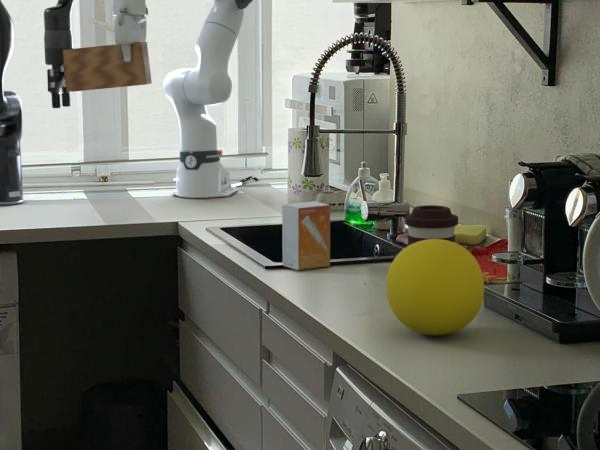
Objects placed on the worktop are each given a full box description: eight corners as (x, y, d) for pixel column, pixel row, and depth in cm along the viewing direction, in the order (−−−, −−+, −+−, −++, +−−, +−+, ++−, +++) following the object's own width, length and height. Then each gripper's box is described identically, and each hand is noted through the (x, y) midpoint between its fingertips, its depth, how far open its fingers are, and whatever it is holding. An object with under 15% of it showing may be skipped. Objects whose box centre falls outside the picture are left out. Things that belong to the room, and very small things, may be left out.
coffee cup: (400, 280, 202) (400, 204, 200) (450, 279, 203) (451, 203, 201) (409, 292, 193) (410, 212, 190) (462, 291, 193) (463, 211, 191)
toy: (452, 317, 175) (453, 228, 172) (500, 340, 161) (502, 244, 158) (370, 326, 170) (371, 235, 167) (413, 350, 156) (414, 252, 153)
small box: (298, 271, 212) (298, 207, 210) (281, 266, 217) (281, 204, 215) (331, 266, 217) (330, 204, 214) (314, 261, 222) (313, 200, 220)
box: (66, 92, 281) (61, 49, 279) (73, 91, 287) (68, 49, 285) (146, 84, 278) (141, 41, 277) (151, 83, 284) (146, 41, 283)
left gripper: (63, 46, 275) (66, 108, 277) (80, 46, 289) (82, 105, 291) (36, 47, 275) (39, 108, 278) (53, 47, 289) (56, 106, 292)
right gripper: (130, 7, 268) (133, 62, 270) (149, 9, 288) (151, 60, 290) (106, 8, 269) (109, 62, 271) (127, 10, 289) (129, 60, 291)
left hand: (61, 107), depth 285 cm, fingers open, 8 cm apart
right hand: (131, 61), depth 281 cm, fingers closed on box, 6 cm apart
